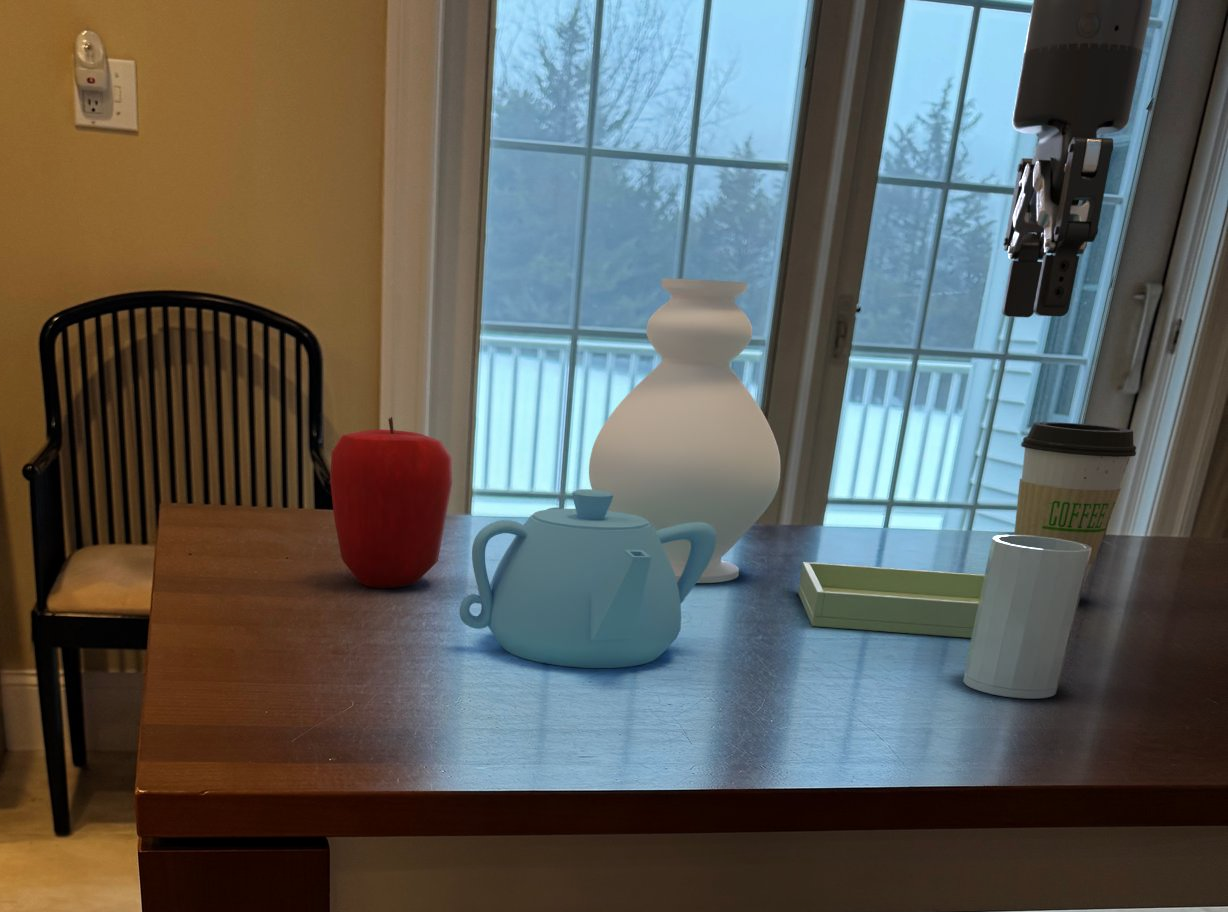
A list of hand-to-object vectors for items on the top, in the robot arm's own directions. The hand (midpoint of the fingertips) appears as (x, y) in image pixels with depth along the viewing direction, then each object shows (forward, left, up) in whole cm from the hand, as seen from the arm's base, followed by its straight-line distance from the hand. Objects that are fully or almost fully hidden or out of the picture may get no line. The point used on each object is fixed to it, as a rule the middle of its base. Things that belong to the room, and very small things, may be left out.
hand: (1032, 316), depth 101 cm
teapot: (+30, +11, -24) cm, 40 cm away
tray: (+3, -10, -24) cm, 26 cm away
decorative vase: (+23, -24, -24) cm, 41 cm away
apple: (+48, -8, -24) cm, 54 cm away
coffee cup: (-12, -24, -24) cm, 36 cm away
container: (-1, +13, -24) cm, 27 cm away
